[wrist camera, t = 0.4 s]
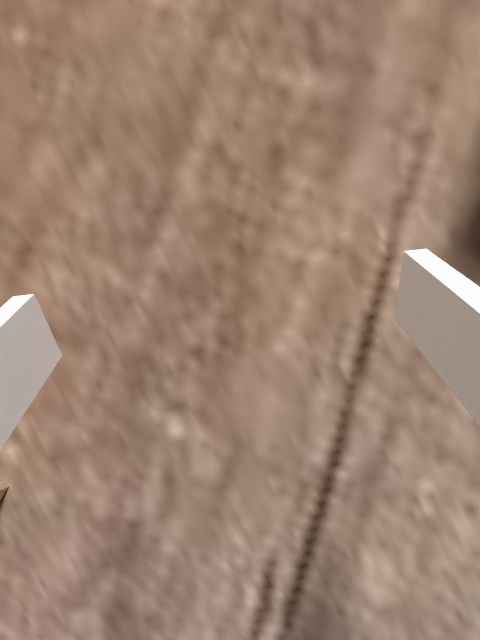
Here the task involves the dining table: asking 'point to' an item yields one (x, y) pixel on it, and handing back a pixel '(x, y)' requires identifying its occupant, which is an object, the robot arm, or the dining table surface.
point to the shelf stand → (2, 489)
